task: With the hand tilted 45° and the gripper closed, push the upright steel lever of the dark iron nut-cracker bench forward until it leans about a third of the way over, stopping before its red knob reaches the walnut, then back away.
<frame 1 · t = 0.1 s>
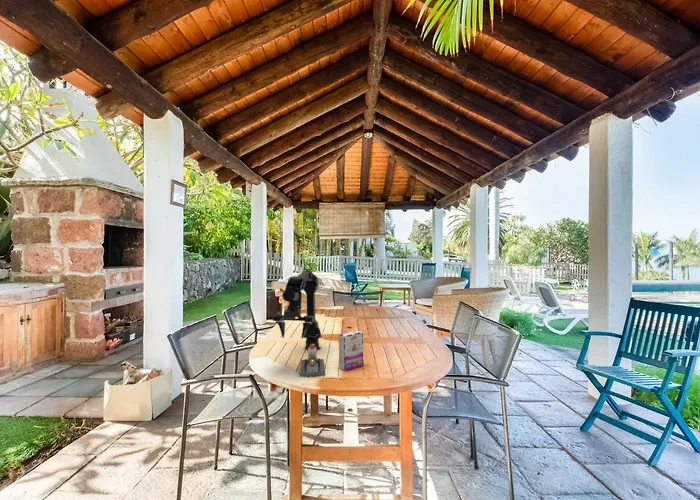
hand: (292, 337, 156), 15 cm above the table, tool pointing down, fingers open, 9 cm apart
lever: (312, 353, 157), point 8 cm above the table, hinge at 0.0°
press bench: (312, 370, 157), on the table
candy bar box: (351, 367, 161), on the table
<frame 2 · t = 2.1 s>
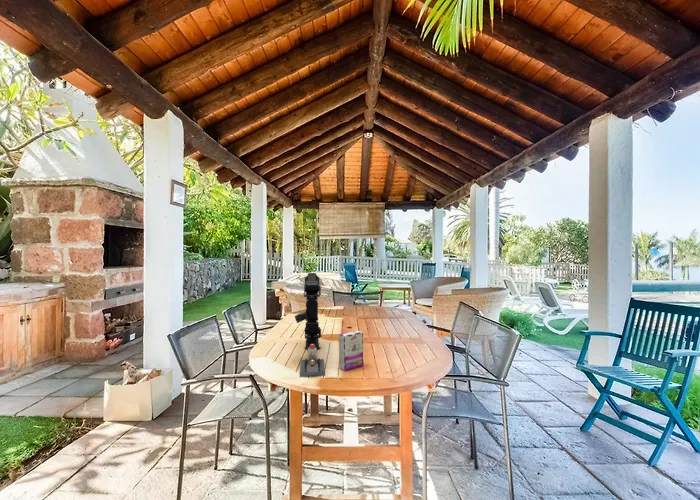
hand: (312, 338, 171), 11 cm above the table, tool pointing down, fingers closed
nothing on the table moved.
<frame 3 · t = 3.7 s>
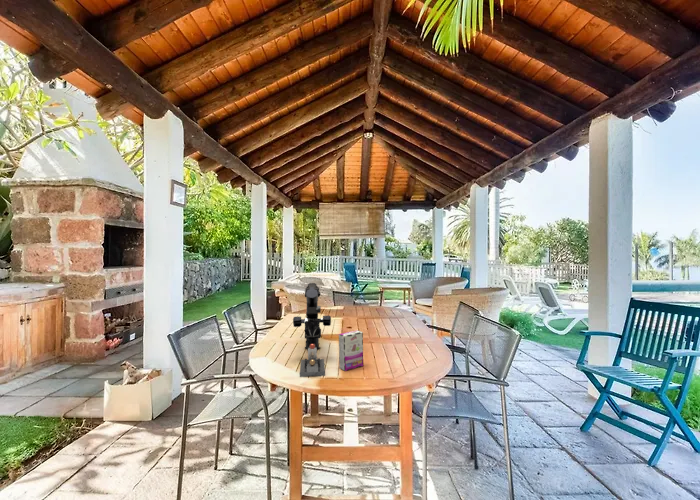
hand: (312, 336, 166), 13 cm above the table, tool tilted 45°, fingers closed
nothing on the table moved.
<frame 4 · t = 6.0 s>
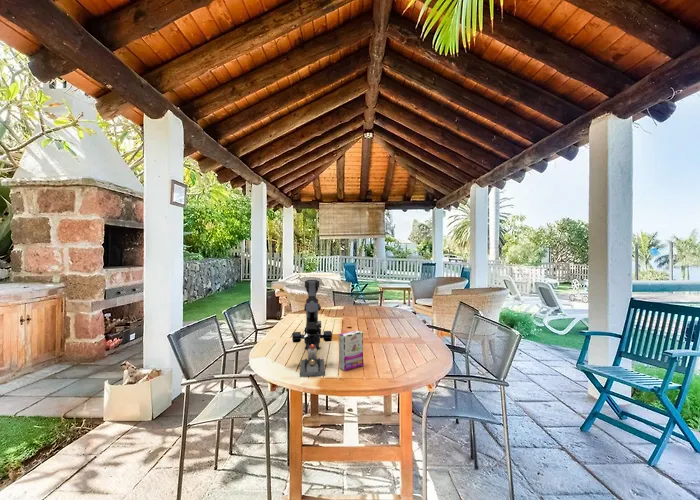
hand: (312, 353, 158), 8 cm above the table, tool tilted 45°, fingers closed, pressing on lever
lever: (312, 353, 157), point 8 cm above the table, hinge at 4.3°, touching gripper
everything else where it was.
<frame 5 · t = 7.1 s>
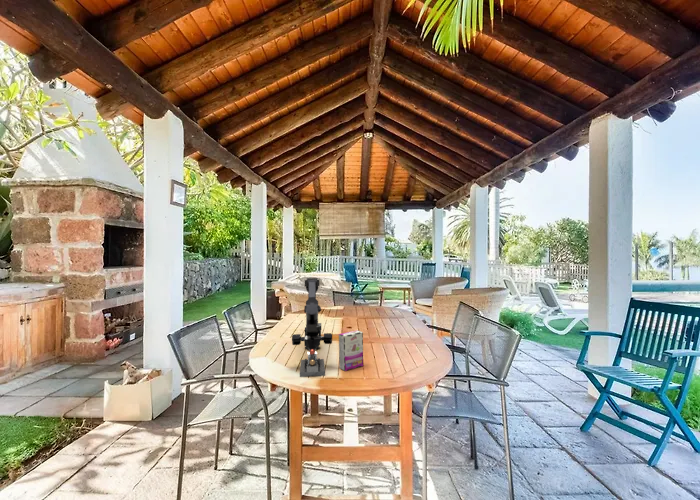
hand: (312, 356, 155), 7 cm above the table, tool tilted 45°, fingers closed, pressing on lever
lever: (312, 356, 155), point 7 cm above the table, hinge at 30.3°, touching gripper
everything else where it was.
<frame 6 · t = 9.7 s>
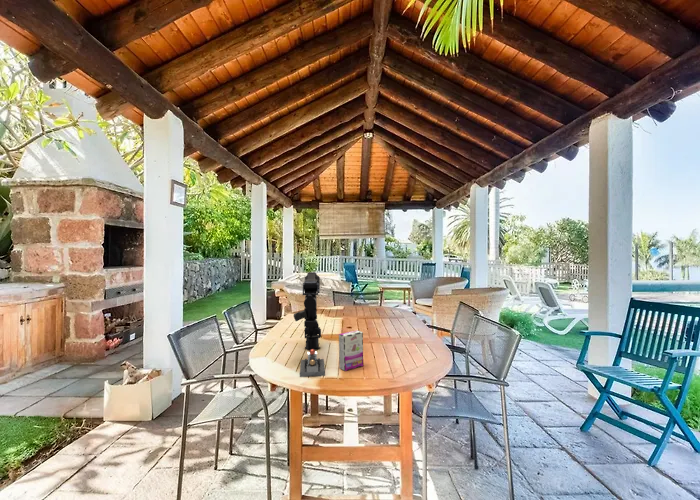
hand: (311, 336, 170), 12 cm above the table, tool pointing down, fingers closed
lever: (312, 356, 155), point 7 cm above the table, hinge at 30.4°
everything else where it was.
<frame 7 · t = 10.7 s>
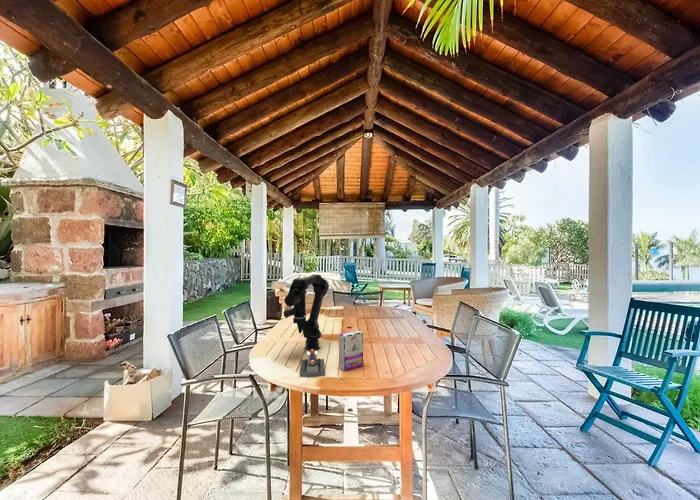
hand: (300, 332, 177), 12 cm above the table, tool pointing down, fingers closed
nothing on the table moved.
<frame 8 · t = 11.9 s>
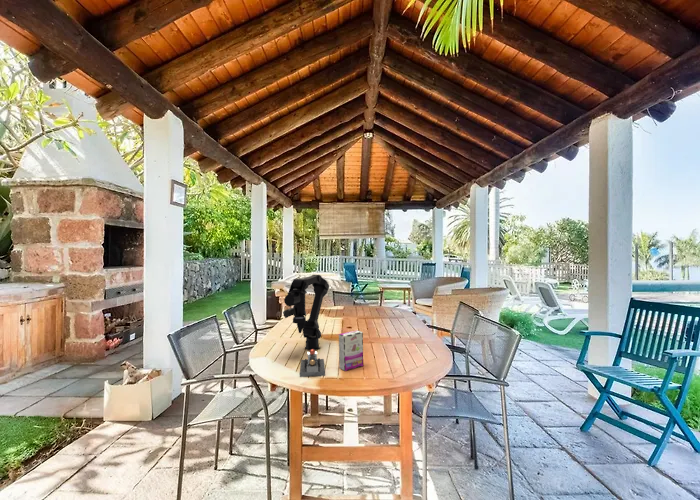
hand: (299, 332, 178), 12 cm above the table, tool pointing down, fingers closed
nothing on the table moved.
at the end: lever at +30° (first picture: +0°); candy bar box moved 0.2 cm from its start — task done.
